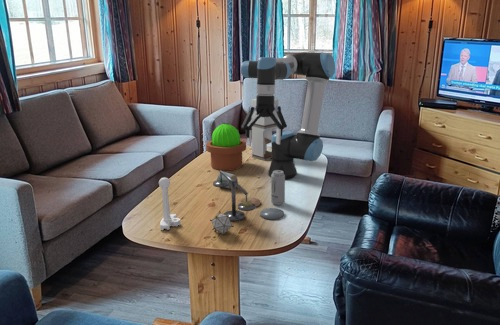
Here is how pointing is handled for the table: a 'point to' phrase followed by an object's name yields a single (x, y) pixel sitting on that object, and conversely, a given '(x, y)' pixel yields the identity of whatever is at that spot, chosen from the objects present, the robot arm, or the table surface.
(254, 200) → the pink disc
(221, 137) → the potted cactus
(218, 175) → the ceramic mug
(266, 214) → the grey round disc
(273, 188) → the energy drink can
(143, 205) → the table surface
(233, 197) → the balance
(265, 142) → the stacked white blocks
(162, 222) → the white mechanical bracket
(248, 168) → the table surface
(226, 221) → the game die
